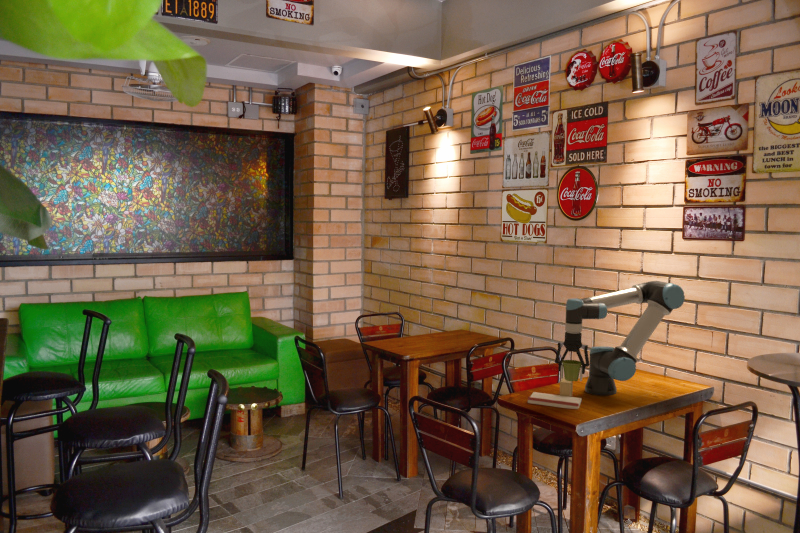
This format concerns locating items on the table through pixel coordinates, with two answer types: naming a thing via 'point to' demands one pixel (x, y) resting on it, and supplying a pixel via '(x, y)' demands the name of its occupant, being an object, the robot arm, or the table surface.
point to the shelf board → (555, 400)
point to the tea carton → (566, 387)
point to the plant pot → (571, 369)
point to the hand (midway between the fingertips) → (571, 379)
